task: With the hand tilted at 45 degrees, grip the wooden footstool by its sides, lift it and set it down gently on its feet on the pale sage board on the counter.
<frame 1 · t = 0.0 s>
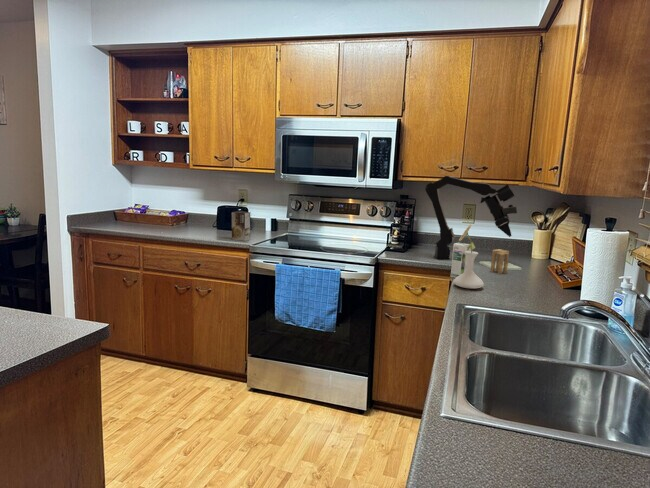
hand: (510, 235, 221), 15 cm above the countertop, tool tilted 35°, fingers open, 9 cm apart
coffee box: (241, 240, 266), on the countertop
wooden footstool: (498, 272, 207), on the countertop
board: (499, 266, 220), on the countertop
flower in vase: (467, 287, 178), on the countertop
syrup box: (459, 277, 195), on the countertop
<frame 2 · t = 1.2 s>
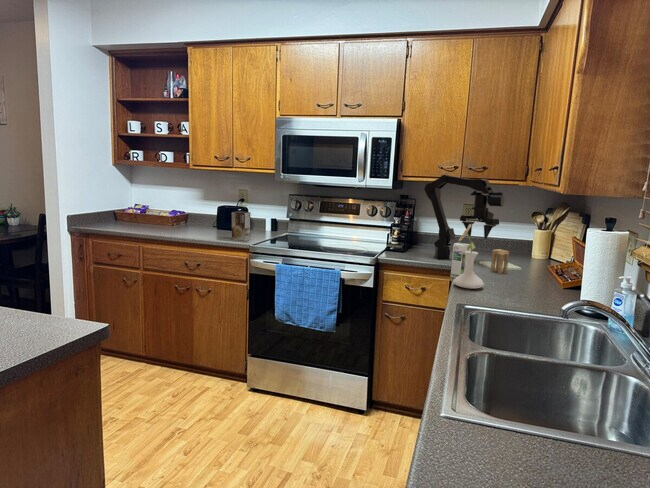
hand: (477, 237, 222), 13 cm above the countertop, tool pointing down, fingers open, 9 cm apart
nothing on the countertop moved.
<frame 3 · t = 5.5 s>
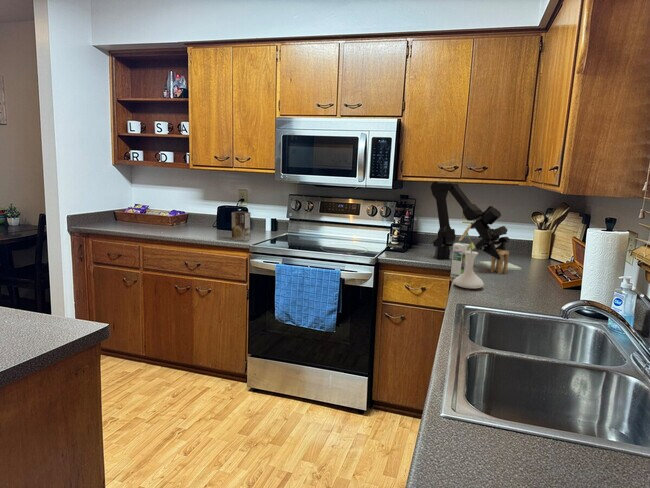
hand: (502, 258, 205), 7 cm above the countertop, tool tilted 45°, fingers closed on wooden footstool, 5 cm apart
wooden footstool: (498, 272, 207), on the countertop, touching gripper
everything else where it was.
when the fingers open (8 cm above the countertop, at t = 9.2 s): wooden footstool stays where it is, resting on board.
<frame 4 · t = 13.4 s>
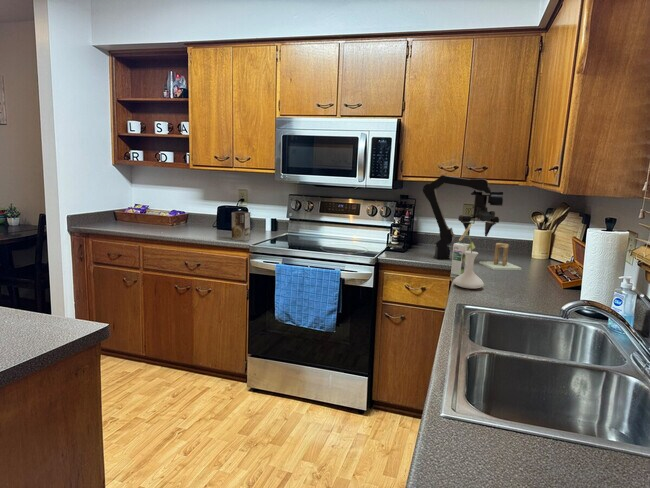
hand: (477, 236, 227), 13 cm above the countertop, tool pointing down, fingers open, 9 cm apart
wooden footstool: (500, 264, 220), point 1 cm above the countertop, touching board
everything else where it was.
at the end: wooden footstool inside the target area on the board (0.1 cm from its centre), point 1.0 cm above the board's base; wooden footstool tilted 0°; the gripper is holding nothing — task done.
